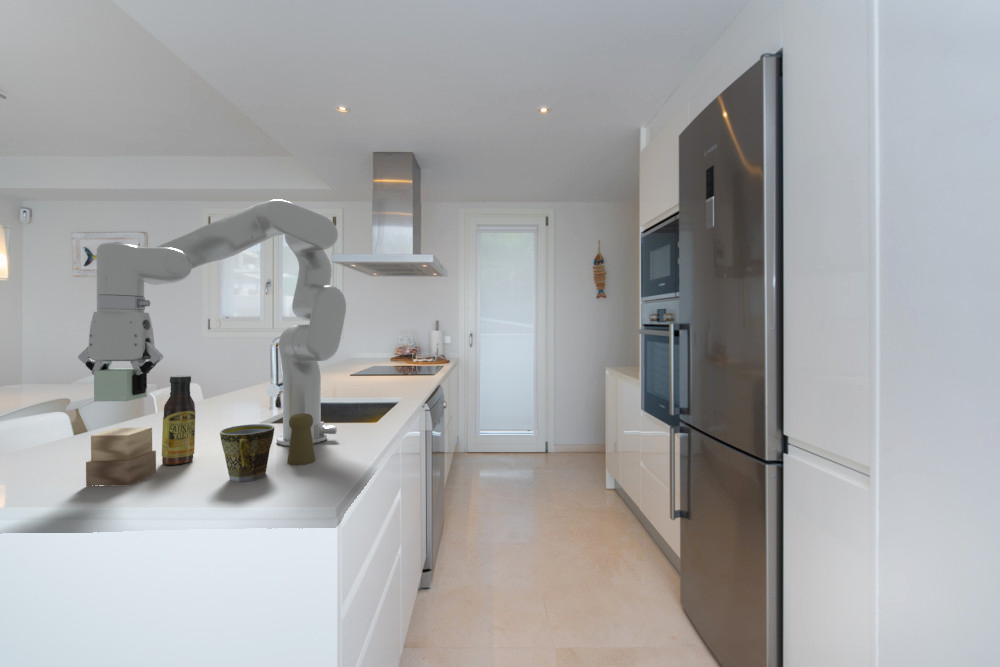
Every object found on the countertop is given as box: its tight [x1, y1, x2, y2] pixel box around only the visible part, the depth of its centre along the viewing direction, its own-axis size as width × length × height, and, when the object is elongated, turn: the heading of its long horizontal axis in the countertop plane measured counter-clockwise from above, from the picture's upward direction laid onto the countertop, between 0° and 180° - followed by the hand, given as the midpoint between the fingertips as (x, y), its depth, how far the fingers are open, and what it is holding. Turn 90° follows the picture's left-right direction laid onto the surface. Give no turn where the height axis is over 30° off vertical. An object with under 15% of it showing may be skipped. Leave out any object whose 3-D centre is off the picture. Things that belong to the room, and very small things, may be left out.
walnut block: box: [85, 450, 157, 487], centre depth 96 cm, size 8×8×5 cm
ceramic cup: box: [219, 423, 275, 483], centre depth 96 cm, size 13×10×10 cm
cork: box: [286, 413, 316, 466], centre depth 109 cm, size 6×6×11 cm
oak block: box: [90, 427, 153, 461], centre depth 96 cm, size 7×7×5 cm
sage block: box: [93, 367, 148, 402], centre depth 96 cm, size 6×6×6 cm
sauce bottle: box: [161, 375, 196, 466], centre depth 108 cm, size 7×6×20 cm
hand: (121, 393), depth 96 cm, fingers closed on sage block, 6 cm apart
